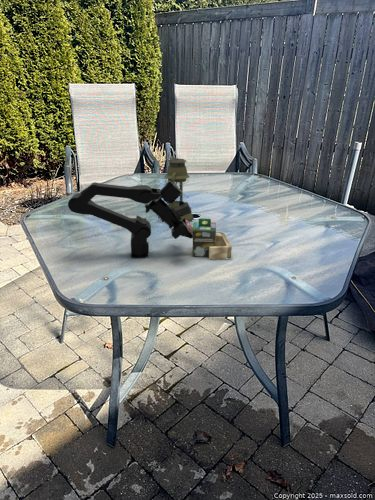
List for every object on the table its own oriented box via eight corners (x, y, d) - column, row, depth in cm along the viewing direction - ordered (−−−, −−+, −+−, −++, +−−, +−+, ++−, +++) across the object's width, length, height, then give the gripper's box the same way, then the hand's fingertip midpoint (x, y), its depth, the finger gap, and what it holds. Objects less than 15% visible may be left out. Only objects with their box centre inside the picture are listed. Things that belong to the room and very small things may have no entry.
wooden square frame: (209, 259, 147) (209, 247, 145) (204, 245, 159) (204, 234, 157) (230, 259, 147) (231, 247, 146) (224, 245, 160) (224, 234, 158)
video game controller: (183, 231, 179) (176, 219, 176) (191, 226, 180) (185, 214, 176) (190, 239, 171) (184, 226, 167) (198, 233, 171) (192, 221, 168)
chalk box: (215, 248, 157) (216, 214, 151) (215, 257, 149) (217, 221, 143) (193, 247, 157) (193, 213, 152) (191, 256, 149) (192, 221, 143)
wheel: (212, 242, 164) (212, 236, 162) (209, 237, 169) (210, 231, 168) (225, 241, 164) (226, 235, 163) (223, 236, 170) (223, 231, 168)
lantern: (189, 226, 182) (190, 163, 170) (154, 223, 185) (152, 161, 173) (196, 213, 200) (198, 156, 188) (164, 211, 203) (164, 154, 191)
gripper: (181, 203, 134) (210, 231, 140) (177, 190, 151) (203, 216, 157) (159, 225, 137) (189, 252, 142) (157, 209, 154) (184, 234, 159)
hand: (192, 237), depth 150 cm, fingers closed
